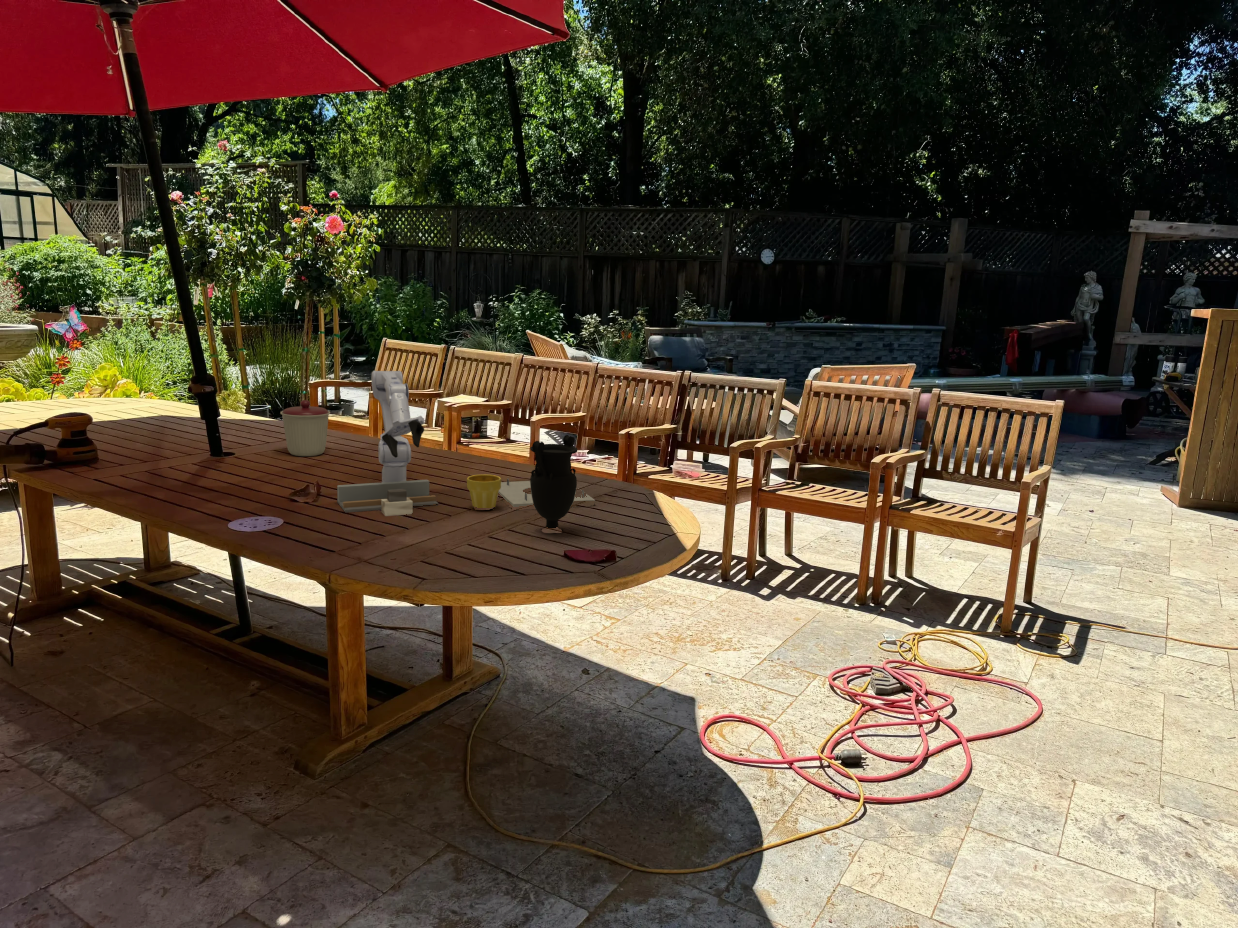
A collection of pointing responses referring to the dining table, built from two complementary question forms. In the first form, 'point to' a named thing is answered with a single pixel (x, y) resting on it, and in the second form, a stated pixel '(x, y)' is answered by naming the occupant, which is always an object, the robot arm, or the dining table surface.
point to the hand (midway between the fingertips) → (405, 450)
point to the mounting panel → (519, 498)
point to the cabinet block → (397, 503)
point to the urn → (553, 480)
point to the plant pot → (484, 490)
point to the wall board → (381, 494)
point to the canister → (305, 429)
